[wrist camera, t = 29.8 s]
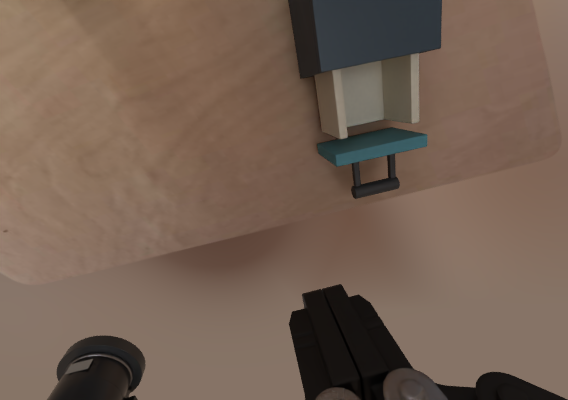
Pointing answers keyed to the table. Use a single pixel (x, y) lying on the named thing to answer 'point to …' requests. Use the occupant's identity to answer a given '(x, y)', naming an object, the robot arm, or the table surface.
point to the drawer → (370, 115)
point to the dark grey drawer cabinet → (361, 31)
